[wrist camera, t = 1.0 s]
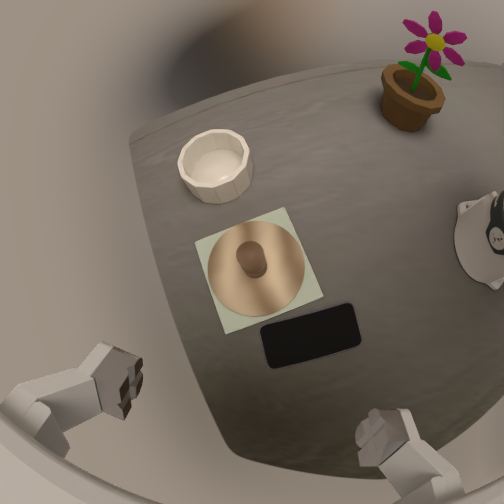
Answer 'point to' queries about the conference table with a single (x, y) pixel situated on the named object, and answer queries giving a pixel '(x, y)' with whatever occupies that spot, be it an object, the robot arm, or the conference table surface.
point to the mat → (238, 321)
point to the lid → (256, 268)
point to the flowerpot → (419, 77)
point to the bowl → (216, 166)
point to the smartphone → (310, 336)
